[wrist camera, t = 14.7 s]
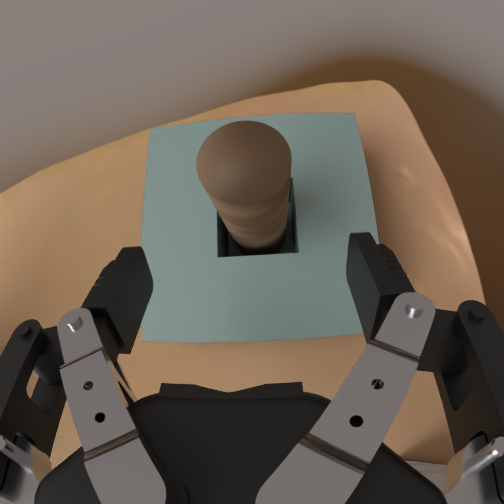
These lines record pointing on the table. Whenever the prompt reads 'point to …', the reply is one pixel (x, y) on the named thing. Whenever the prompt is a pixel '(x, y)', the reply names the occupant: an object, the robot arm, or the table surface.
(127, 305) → the robot arm
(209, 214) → the slate bore block
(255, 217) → the walnut pin
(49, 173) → the table surface
